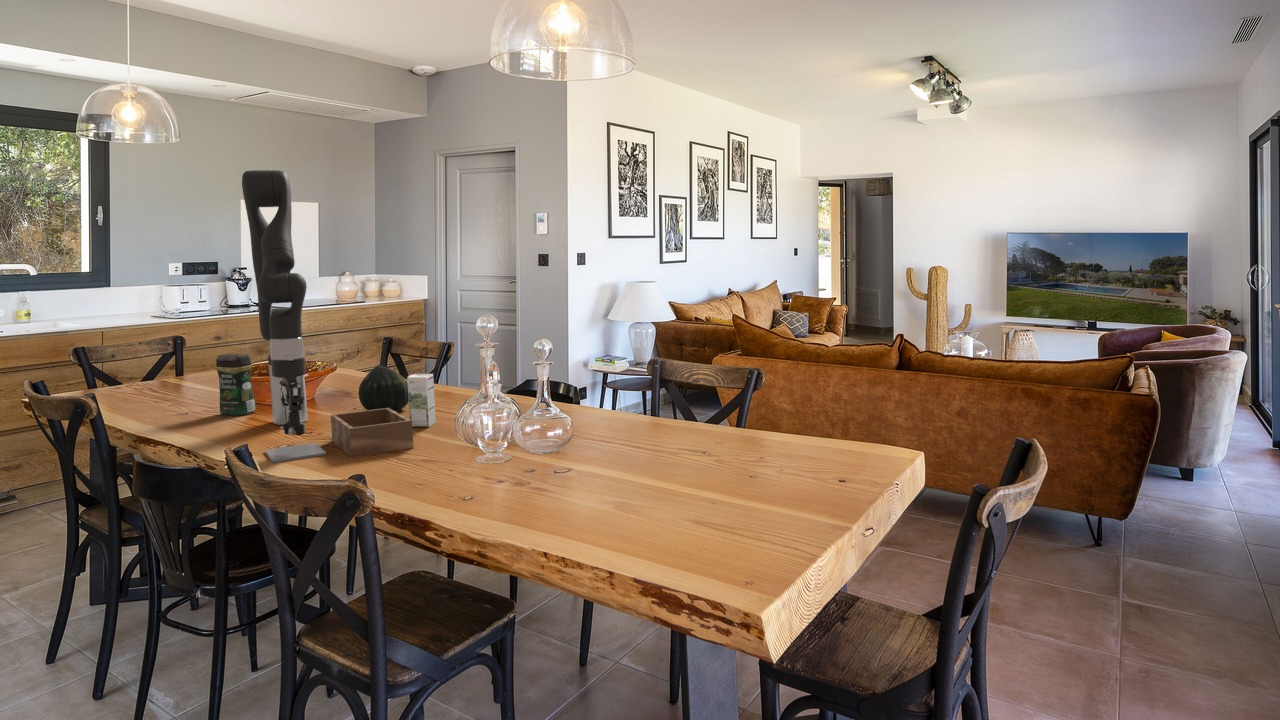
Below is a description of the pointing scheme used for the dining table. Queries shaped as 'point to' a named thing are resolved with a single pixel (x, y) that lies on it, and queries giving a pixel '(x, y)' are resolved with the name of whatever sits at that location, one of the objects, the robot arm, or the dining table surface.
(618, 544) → the dining table surface
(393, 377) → the squash
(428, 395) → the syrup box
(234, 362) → the coffee jar
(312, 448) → the slate pad
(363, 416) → the walnut box frame
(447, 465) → the dining table surface
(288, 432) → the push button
